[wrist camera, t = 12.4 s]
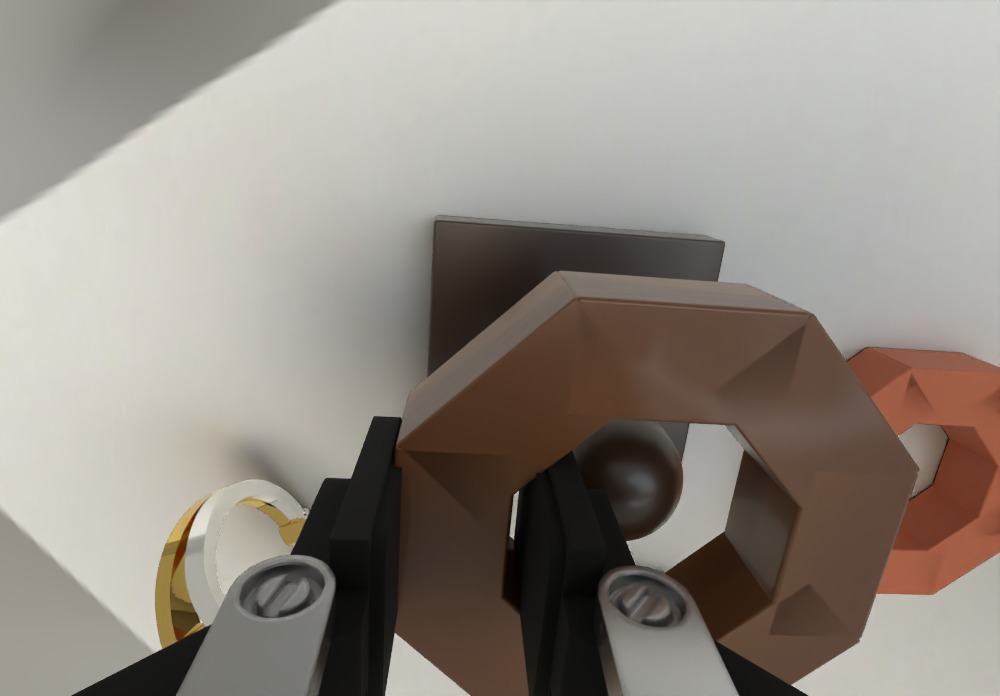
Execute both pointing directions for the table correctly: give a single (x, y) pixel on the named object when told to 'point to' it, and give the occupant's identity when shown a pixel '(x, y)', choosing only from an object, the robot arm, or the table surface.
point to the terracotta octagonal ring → (963, 470)
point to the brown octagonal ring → (650, 397)
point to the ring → (211, 554)
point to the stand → (518, 270)
